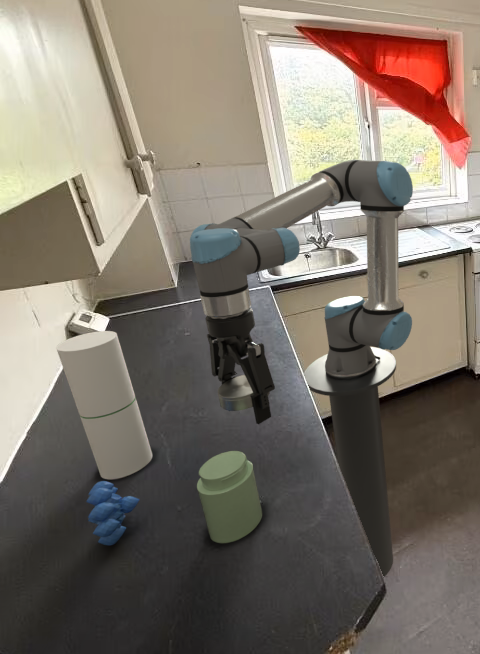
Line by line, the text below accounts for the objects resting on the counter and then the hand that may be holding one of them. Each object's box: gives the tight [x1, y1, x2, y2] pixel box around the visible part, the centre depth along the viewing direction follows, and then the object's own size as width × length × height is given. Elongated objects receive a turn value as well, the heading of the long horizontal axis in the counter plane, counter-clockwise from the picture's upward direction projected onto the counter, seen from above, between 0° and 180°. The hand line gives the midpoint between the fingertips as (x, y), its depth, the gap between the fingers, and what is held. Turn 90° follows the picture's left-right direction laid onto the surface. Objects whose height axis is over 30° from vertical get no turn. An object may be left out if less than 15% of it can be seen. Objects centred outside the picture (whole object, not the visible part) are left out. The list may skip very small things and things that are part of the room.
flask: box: [196, 450, 263, 544], centre depth 77 cm, size 8×8×14 cm
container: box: [55, 330, 153, 480], centre depth 87 cm, size 9×9×30 cm
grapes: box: [85, 480, 141, 546], centre depth 74 cm, size 12×7×12 cm, turn 42°
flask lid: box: [217, 374, 271, 412], centre depth 85 cm, size 8×8×3 cm
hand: (249, 413), depth 86 cm, fingers closed on flask lid, 8 cm apart
